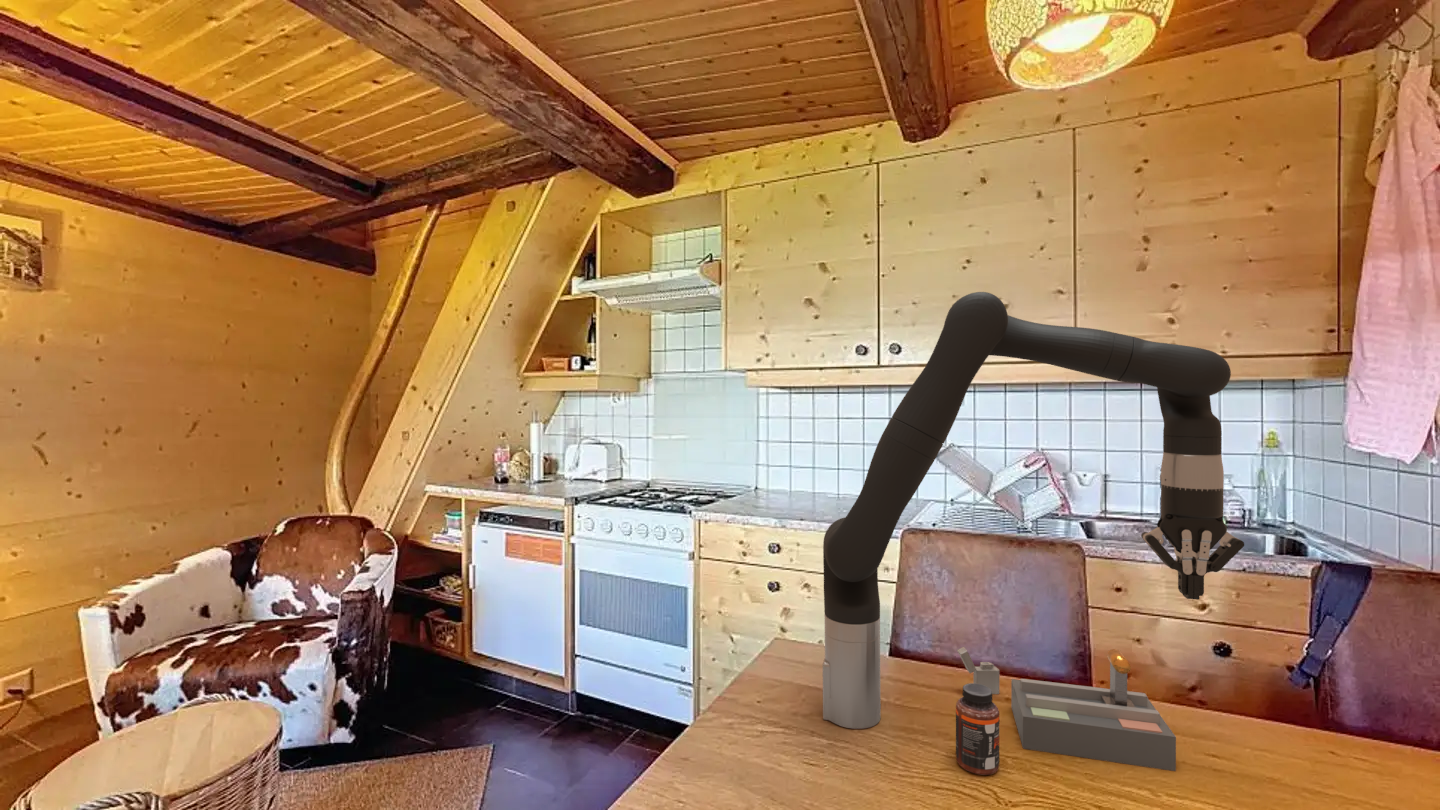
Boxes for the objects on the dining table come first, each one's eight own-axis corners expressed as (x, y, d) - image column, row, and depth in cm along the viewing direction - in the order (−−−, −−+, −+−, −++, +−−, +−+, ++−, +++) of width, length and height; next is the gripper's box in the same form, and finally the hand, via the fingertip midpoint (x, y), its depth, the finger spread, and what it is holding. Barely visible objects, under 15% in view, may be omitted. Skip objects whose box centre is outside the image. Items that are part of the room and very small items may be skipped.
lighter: (995, 689, 115) (995, 646, 115) (999, 694, 114) (999, 650, 114) (956, 689, 116) (956, 646, 115) (960, 694, 114) (960, 650, 114)
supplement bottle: (1004, 779, 89) (1003, 700, 89) (959, 775, 90) (959, 697, 90) (994, 755, 95) (994, 681, 94) (952, 751, 96) (952, 678, 96)
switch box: (1022, 748, 96) (1022, 706, 96) (1011, 707, 109) (1011, 669, 109) (1175, 771, 90) (1176, 726, 90) (1145, 725, 103) (1145, 685, 103)
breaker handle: (1107, 712, 97) (1107, 658, 97) (1100, 700, 101) (1100, 647, 100) (1137, 716, 96) (1137, 661, 95) (1129, 703, 99) (1129, 650, 99)
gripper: (1148, 485, 93) (1148, 601, 93) (1257, 488, 89) (1256, 610, 89) (1132, 478, 100) (1132, 586, 100) (1232, 481, 96) (1231, 593, 96)
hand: (1191, 597), depth 95 cm, fingers closed
